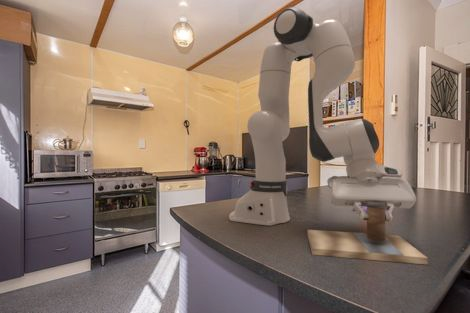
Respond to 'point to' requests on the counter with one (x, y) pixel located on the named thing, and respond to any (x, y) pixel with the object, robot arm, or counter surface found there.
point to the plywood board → (363, 247)
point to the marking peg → (376, 220)
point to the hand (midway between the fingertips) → (376, 219)
